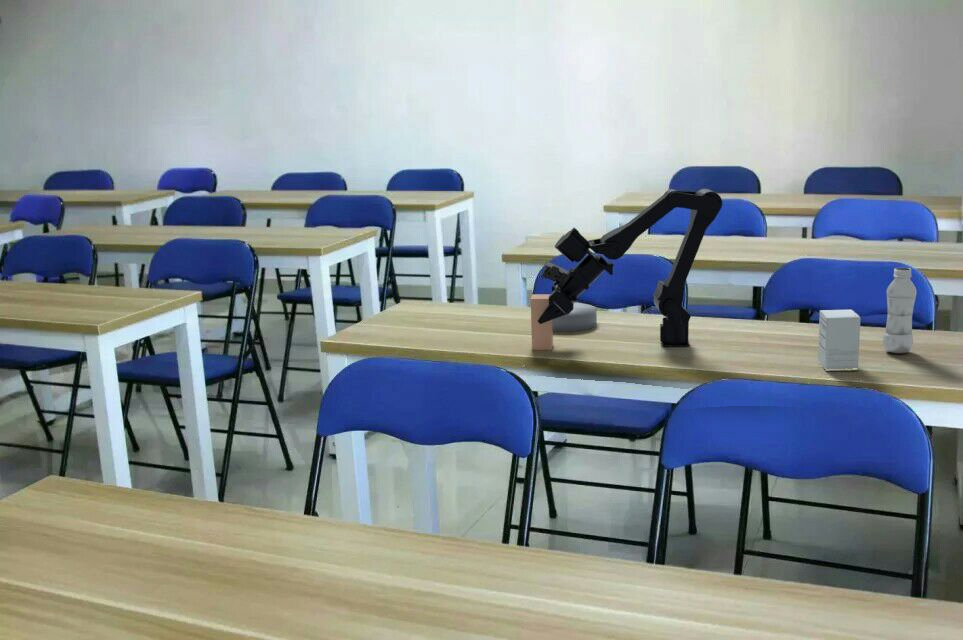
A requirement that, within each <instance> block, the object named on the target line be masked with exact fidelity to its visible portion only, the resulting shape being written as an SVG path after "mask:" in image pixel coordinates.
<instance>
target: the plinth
mask: <svg viewBox="0 0 963 640" xmlns="http://www.w3.org/2000/svg"><path fill="white" fill-rule="evenodd" d="M597 309H598V308H597V307H596V306H594V305H591V304H586V303H578V302H574V308H573V310H572V311H571V312H570V313H569V314H568V315H564V316H561V317H558V318H555V319H553V332H579V331H585V330H590V329H592V328H594V327H596V326H597V325H598V324H597V321H598V320H597V316H598V315H597V314H598V313H597V311H598V310H597Z"/></svg>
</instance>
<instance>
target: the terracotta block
mask: <svg viewBox="0 0 963 640" xmlns="http://www.w3.org/2000/svg"><path fill="white" fill-rule="evenodd" d="M550 294H551V293H550ZM550 294H549V293H548V294H545V293H544V294H542V293H541V294H538V293H537V294H531V297H530V321H531V322H530V323H531V326H530V327H531V328H530V329H531V331H530V332H531V350H539V351H541V350H543V351H546V350H551V351H552V350H553V348H552V347H554V331H553V320H550V321H547V322H545V323H542V324H540V323H539V322H538V319H539V318H540V316H541V315H542V314H543V312H544V311H545V309H546V308H547V307H548V305H549V295H550ZM545 349H546V350H545Z"/></svg>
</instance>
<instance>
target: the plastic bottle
mask: <svg viewBox="0 0 963 640" xmlns="http://www.w3.org/2000/svg"><path fill="white" fill-rule="evenodd" d="M892 275H893V276H892V277H894V279H893V280H892V281H891V282H890V284H889V285H888V286H887V288H886V301H887V319H886V325H885V332H884V334H883V338H882V347H883V349H884V350H885V352H888V353H893V354H906V353H908V352H910V351H911V350H912V348H913V344H914V337H913V322H912V321H913V314H914V306H915V302H916V297H917V293H918V292H917V288H916V286H915V284H914V283H913V282H912V280H911V278H912V277H913V276H912V268H910V267H895V268H894V269H893V274H892Z"/></svg>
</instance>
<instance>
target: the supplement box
mask: <svg viewBox="0 0 963 640" xmlns="http://www.w3.org/2000/svg"><path fill="white" fill-rule="evenodd" d="M861 318H862V317H861V316H860V315H859V314H858V313H856V312H855V311H854V310H853V309H825V310H824V309H821V310H819V320H818V321H819V323H818V327H819V328H818V349H817V362H818V361H819V362H820V364H821V365H822V366H823V367H824V368H826V369H846V368H847V369H853V368H858V369H859V360H860V359H859V355H860V338H861V337H860V334H861ZM820 364H819V365H820Z"/></svg>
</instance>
